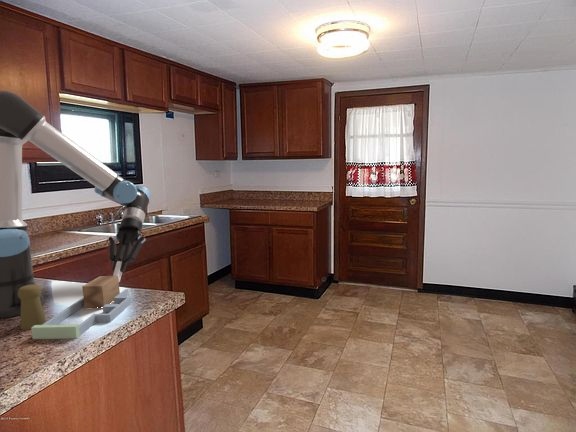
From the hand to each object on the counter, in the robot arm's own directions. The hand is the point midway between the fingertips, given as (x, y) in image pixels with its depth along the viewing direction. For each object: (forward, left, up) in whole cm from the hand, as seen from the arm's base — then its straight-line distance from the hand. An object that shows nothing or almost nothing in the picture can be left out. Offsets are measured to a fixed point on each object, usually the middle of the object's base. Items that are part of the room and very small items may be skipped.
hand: (115, 280), depth 128 cm
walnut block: (0, -9, -4) cm, 10 cm away
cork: (-11, -25, -4) cm, 28 cm away
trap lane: (+2, -19, -4) cm, 19 cm away
